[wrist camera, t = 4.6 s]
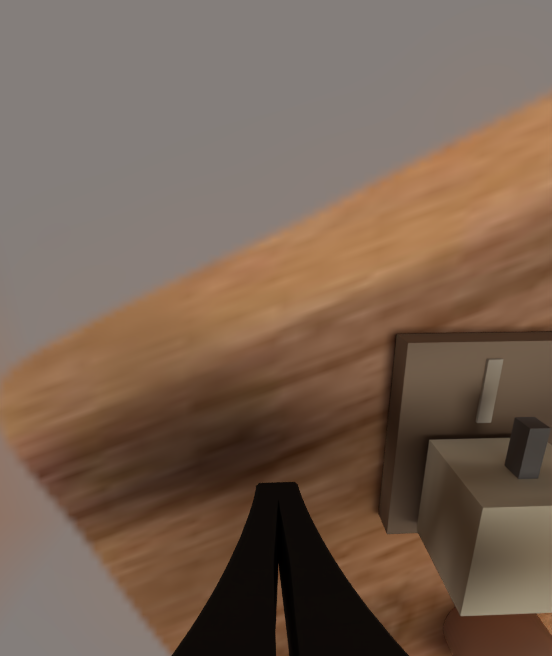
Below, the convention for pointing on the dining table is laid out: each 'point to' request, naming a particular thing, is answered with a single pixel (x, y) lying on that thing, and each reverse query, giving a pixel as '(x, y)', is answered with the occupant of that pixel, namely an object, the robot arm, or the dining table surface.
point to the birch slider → (491, 520)
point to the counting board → (456, 403)
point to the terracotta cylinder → (497, 635)
